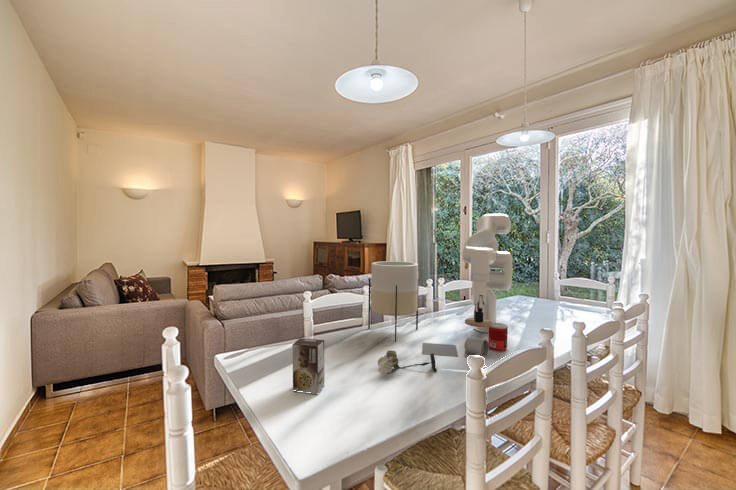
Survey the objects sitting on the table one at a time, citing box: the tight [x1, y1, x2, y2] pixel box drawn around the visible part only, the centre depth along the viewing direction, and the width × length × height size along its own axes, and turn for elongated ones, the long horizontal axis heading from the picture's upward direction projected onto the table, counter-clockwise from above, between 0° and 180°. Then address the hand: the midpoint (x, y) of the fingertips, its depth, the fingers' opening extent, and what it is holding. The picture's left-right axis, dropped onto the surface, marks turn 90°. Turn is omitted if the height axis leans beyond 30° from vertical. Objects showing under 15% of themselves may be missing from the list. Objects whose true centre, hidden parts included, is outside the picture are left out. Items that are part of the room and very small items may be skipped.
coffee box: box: [291, 337, 325, 394], centre depth 114 cm, size 9×6×16 cm
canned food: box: [487, 322, 509, 353], centre depth 155 cm, size 8×8×11 cm
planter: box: [367, 260, 420, 343], centre depth 175 cm, size 26×27×36 cm
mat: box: [421, 342, 459, 358], centre depth 152 cm, size 15×15×1 cm
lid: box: [464, 307, 492, 328], centre depth 146 cm, size 11×11×6 cm
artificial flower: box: [377, 350, 438, 374], centre depth 131 cm, size 9×22×10 cm, turn 86°
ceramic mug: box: [464, 336, 490, 358], centre depth 146 cm, size 11×8×8 cm
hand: (478, 320), depth 146 cm, fingers closed on lid, 2 cm apart
